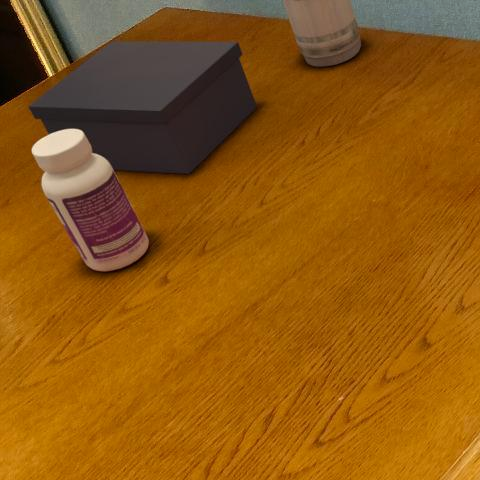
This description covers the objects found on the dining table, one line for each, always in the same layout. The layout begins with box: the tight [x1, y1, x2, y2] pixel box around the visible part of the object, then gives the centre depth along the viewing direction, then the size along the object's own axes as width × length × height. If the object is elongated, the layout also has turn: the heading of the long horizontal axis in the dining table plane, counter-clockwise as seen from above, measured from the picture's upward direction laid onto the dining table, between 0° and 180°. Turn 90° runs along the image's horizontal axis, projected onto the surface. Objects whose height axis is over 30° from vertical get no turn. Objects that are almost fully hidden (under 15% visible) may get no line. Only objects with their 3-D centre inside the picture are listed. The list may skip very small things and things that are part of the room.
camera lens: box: [282, 0, 362, 68], centre depth 97 cm, size 6×6×8 cm
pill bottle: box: [31, 129, 150, 272], centre depth 77 cm, size 5×5×10 cm
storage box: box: [27, 40, 258, 175], centre depth 92 cm, size 15×13×6 cm
